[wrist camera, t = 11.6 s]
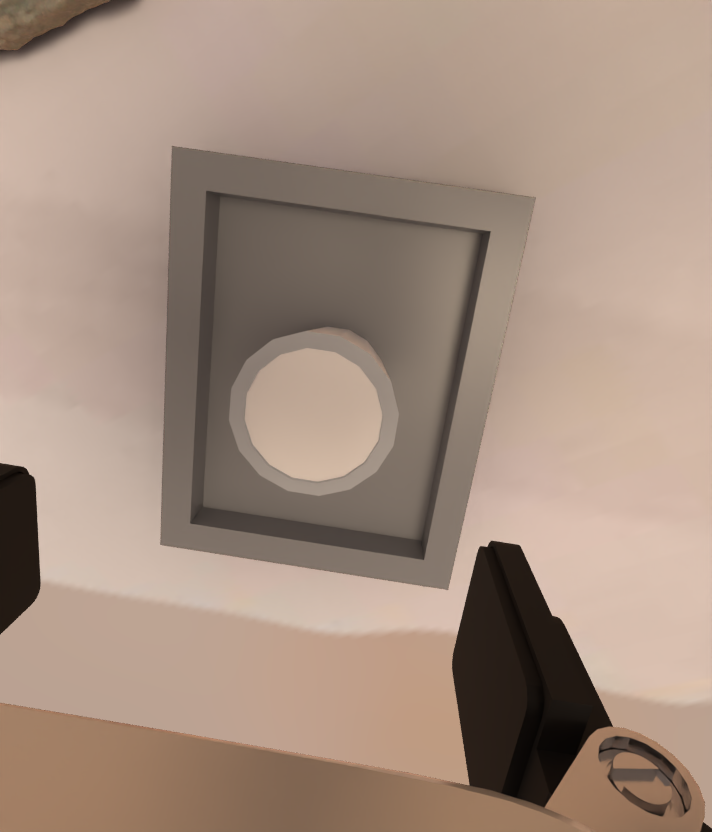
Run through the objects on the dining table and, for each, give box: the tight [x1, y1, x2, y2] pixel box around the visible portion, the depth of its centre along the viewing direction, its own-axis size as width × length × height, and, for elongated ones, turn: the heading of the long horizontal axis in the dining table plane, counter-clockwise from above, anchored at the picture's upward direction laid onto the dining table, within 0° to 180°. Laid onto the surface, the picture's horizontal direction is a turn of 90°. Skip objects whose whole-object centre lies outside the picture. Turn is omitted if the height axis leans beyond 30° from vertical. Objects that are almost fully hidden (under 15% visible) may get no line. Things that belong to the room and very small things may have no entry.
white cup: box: [229, 327, 399, 496], centre depth 24 cm, size 7×7×7 cm
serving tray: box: [160, 146, 535, 590], centre depth 27 cm, size 20×16×3 cm
